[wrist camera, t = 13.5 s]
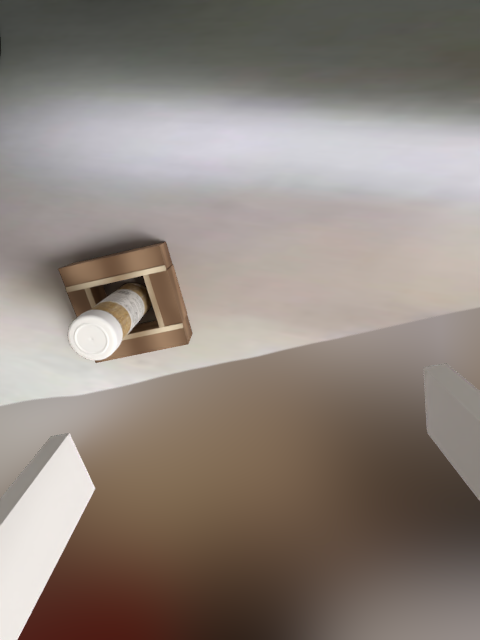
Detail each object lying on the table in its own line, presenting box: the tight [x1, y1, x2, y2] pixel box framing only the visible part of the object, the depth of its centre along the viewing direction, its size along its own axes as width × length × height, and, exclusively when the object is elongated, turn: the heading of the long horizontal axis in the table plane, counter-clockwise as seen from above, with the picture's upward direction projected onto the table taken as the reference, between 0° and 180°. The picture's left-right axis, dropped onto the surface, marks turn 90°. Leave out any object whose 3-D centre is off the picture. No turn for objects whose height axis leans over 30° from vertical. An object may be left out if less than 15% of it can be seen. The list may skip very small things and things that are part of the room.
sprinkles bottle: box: [68, 283, 151, 360], centre depth 38 cm, size 5×5×13 cm
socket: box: [58, 242, 192, 363], centre depth 43 cm, size 12×12×4 cm
